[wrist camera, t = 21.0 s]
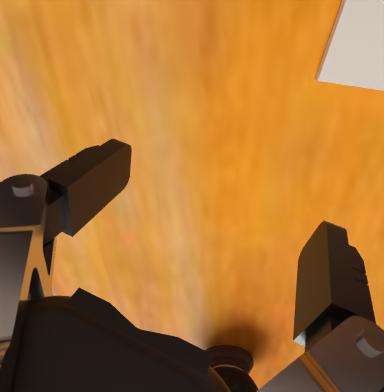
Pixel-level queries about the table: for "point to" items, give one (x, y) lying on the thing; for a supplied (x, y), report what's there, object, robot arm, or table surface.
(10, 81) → the table surface
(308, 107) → the table surface
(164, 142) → the table surface
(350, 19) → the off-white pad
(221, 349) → the ball on round base
